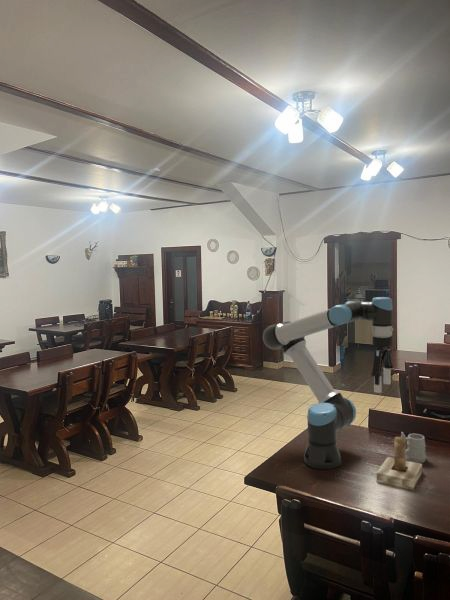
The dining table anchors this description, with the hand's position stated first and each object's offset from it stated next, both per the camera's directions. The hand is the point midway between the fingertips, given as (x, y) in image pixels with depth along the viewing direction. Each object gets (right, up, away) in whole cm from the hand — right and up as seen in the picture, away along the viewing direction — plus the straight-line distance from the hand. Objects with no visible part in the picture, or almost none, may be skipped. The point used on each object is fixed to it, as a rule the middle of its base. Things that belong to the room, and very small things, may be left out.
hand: (382, 388), depth 183 cm
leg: (+4, -31, -9) cm, 33 cm away
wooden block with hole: (+4, -32, -9) cm, 34 cm away
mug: (+14, -31, +6) cm, 35 cm away
